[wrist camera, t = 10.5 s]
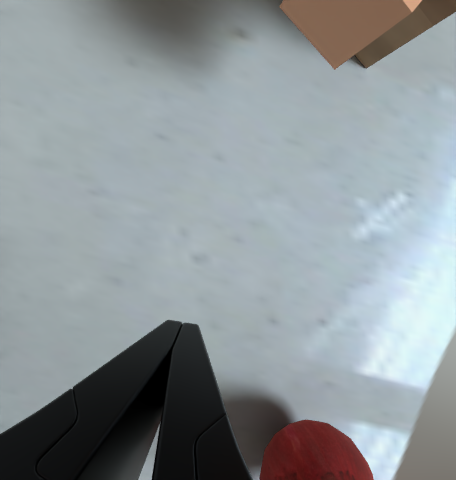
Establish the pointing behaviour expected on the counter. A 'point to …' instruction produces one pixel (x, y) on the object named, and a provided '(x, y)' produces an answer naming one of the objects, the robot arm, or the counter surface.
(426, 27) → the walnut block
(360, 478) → the onion
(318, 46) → the tan rectangular block
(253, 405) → the counter surface
